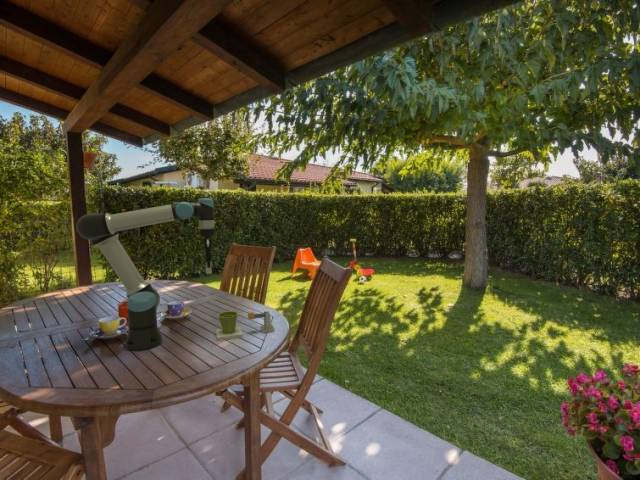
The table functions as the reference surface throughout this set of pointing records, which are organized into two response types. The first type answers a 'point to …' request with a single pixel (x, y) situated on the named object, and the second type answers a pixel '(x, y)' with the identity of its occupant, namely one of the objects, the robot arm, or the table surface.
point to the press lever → (256, 315)
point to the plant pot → (228, 321)
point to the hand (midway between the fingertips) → (209, 273)
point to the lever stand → (267, 324)
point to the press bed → (229, 334)
